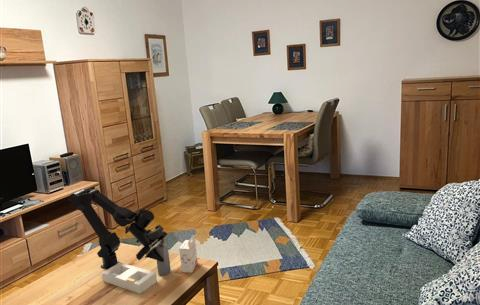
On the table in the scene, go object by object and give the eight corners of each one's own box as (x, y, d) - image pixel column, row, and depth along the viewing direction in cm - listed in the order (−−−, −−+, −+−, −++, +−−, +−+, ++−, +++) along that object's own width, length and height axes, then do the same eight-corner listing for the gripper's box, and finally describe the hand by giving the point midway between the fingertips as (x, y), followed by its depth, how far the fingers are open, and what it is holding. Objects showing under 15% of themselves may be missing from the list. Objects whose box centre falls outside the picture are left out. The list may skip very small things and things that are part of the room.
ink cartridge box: (187, 262, 181) (184, 233, 178) (197, 263, 180) (195, 233, 177) (181, 272, 173) (178, 242, 169) (192, 273, 172) (188, 242, 168)
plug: (158, 274, 173) (154, 245, 169) (162, 269, 176) (159, 241, 173) (166, 275, 171) (162, 246, 168) (170, 270, 175) (167, 241, 172)
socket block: (103, 281, 170) (101, 272, 169) (120, 270, 178) (119, 261, 177) (140, 293, 159) (138, 284, 158) (157, 281, 167) (155, 272, 166)
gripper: (138, 231, 161) (165, 258, 160) (161, 214, 178) (185, 238, 177) (125, 247, 165) (150, 273, 164) (148, 229, 183) (171, 252, 182)
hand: (165, 258), depth 172 cm, fingers closed on plug, 4 cm apart
